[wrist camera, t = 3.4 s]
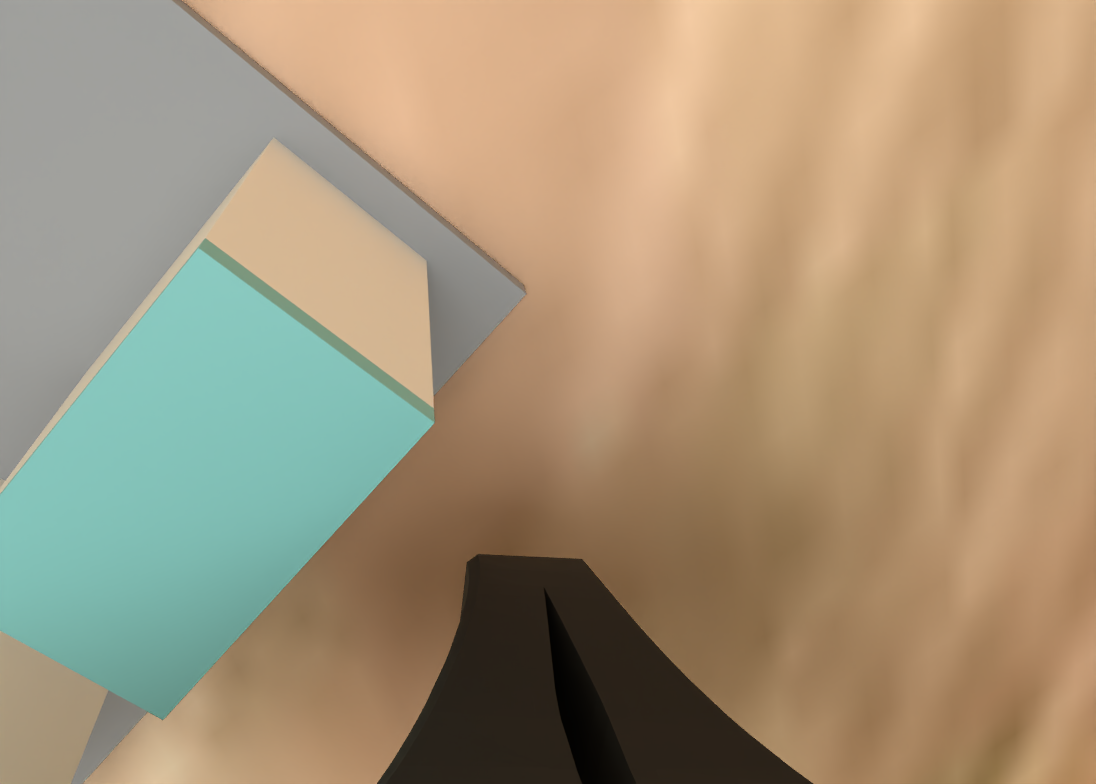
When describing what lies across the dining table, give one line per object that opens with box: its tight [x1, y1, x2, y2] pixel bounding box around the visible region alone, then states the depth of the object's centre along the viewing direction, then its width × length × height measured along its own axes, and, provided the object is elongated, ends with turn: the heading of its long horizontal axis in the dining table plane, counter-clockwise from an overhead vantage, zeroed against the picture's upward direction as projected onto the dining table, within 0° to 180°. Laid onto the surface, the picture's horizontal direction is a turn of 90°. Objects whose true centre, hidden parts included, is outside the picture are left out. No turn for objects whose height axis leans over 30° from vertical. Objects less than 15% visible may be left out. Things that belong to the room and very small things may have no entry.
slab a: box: [0, 138, 435, 720], centre depth 11 cm, size 2×4×5 cm, turn 138°
